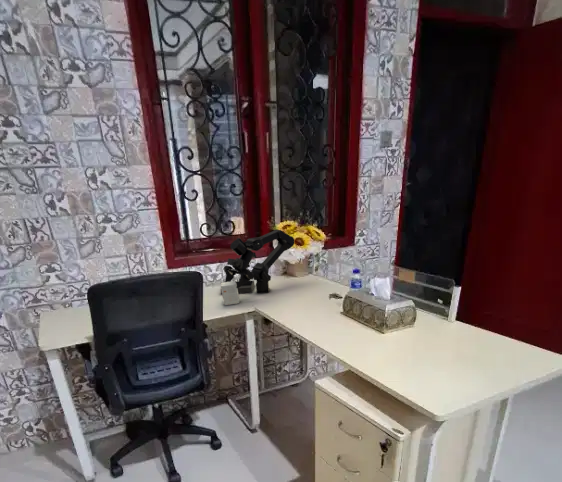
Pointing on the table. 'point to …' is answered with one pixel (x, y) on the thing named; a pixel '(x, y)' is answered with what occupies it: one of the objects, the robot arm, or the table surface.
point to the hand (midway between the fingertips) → (231, 286)
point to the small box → (230, 292)
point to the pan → (246, 287)
